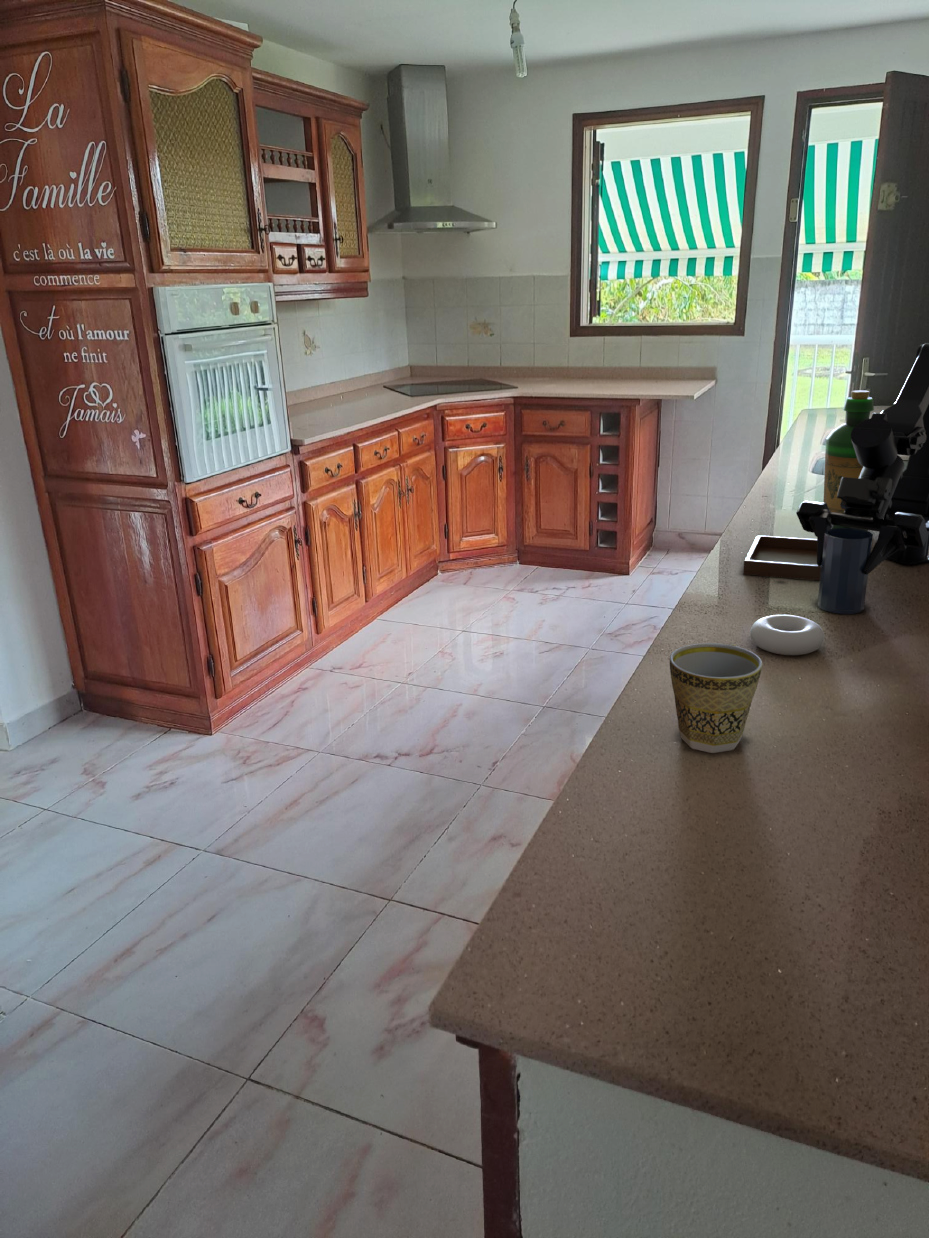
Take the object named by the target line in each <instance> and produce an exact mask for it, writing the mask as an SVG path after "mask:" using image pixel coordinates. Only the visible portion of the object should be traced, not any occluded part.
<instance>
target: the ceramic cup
mask: <svg viewBox="0 0 929 1238" xmlns="http://www.w3.org/2000/svg"><path fill="white" fill-rule="evenodd" d="M668 660H669V673H670V679H671V685H672V692H673V696H674V706H675V710H676V717H677V726H678V731H679V736H680V738H681V739H682V740H683V742H684V743H686V745H688V747H689V748H690V749H692V750H697V751H701V752H705V753H709V754H710V753H711V754H716V753H723V752H728V751H729V752H730V751H734V749H735V748H736V747H738V745H739V743H740V741H741V740H742V738H743V734H744V731H745V728H746V723H747V720H748V717H749V713H750V710H751V705H752V701H753V698H754V697H755V693H756V691H757V688H758V684H759V681H760V678H761V674H762V669H763V661H762V659H761V658H760V657H759V655H757V654H756V653H755V652H752V651H750V650H748V649H746V648H743V647H740V646H738V645H737V644H734V643H729V644H725V643H718V642H717V643H716V642H701V643H693V644H688V645H684V646H681V647H679V648H677V649H675V650H674V651H672V652H671V653H670V656H669V659H668Z"/></svg>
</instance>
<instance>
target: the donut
mask: <svg viewBox="0 0 929 1238" xmlns="http://www.w3.org/2000/svg"><path fill="white" fill-rule="evenodd" d="M749 634H750V637H751V640H752V642H753V643H754V644H755V645H756V646H757V647H758V648H759V649H762V650H763V651H766V652H769V653H772V654H776V655H782V656H801V655H802V656H803V655H808V654H811V653H814V652H815V651H817V650H819V648H821V647H822V645H823V643H824V640H825V632H824V631H823V629H822V627H821V626H820V625H819V624H818V623H817V622H815V621H813V620H811V619H809V618H806V617H803V616H798V615H793V614H773V615H767V616H763V617H761V618H759V619H757V620H756V621H755V622H754V623H753V624H752V626H751V628H750V631H749Z"/></svg>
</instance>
